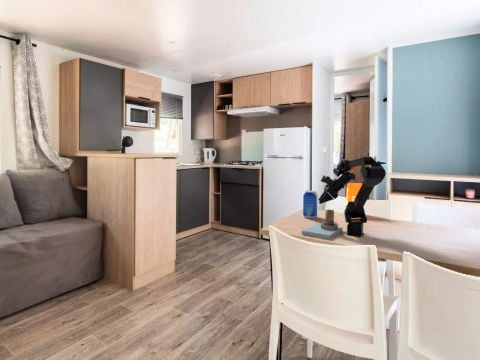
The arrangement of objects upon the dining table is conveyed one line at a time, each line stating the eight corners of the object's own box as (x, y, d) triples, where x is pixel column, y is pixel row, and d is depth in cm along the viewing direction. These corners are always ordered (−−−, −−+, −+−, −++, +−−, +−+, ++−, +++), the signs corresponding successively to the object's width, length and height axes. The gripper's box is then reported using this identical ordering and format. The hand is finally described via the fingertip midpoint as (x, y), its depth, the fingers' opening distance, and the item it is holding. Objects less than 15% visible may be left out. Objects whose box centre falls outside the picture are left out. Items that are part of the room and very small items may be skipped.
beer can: (301, 217, 182) (301, 191, 181) (305, 215, 190) (305, 190, 188) (315, 219, 179) (315, 192, 177) (318, 216, 186) (319, 190, 184)
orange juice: (362, 216, 186) (363, 183, 184) (347, 215, 188) (348, 183, 186) (360, 213, 193) (361, 182, 191) (345, 213, 195) (346, 182, 193)
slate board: (342, 231, 152) (342, 223, 152) (329, 239, 139) (329, 231, 138) (316, 227, 161) (316, 219, 160) (301, 234, 147) (301, 226, 147)
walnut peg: (334, 227, 151) (335, 210, 150) (331, 229, 148) (332, 211, 147) (327, 226, 154) (327, 209, 153) (324, 228, 151) (324, 210, 150)
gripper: (329, 169, 166) (308, 188, 170) (331, 171, 148) (308, 193, 152) (344, 183, 165) (322, 202, 169) (348, 187, 147) (324, 209, 151)
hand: (319, 201), depth 160 cm, fingers open, 9 cm apart
